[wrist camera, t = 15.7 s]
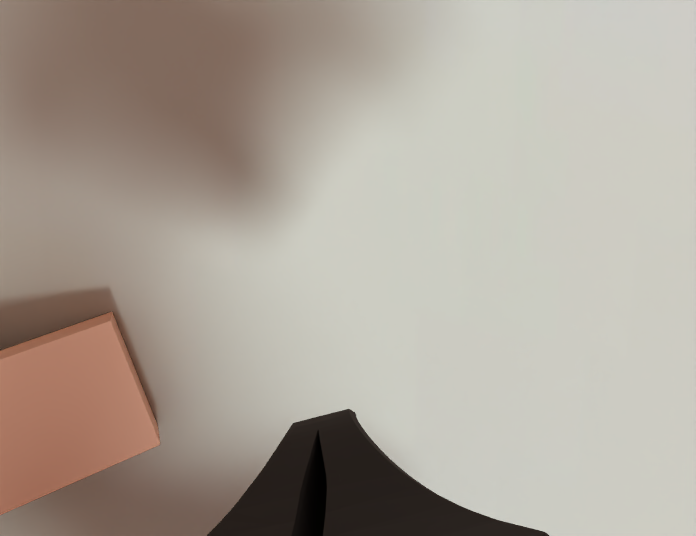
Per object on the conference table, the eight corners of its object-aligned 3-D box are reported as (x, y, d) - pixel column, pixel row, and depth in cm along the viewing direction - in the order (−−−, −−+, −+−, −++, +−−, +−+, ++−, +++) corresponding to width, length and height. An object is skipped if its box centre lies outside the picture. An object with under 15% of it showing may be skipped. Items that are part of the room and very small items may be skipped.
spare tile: (110, 320, 19) (-163, 417, 16) (160, 444, 20) (-89, 553, 17) (111, 311, 20) (-136, 398, 18) (158, 426, 22) (-69, 523, 19)
